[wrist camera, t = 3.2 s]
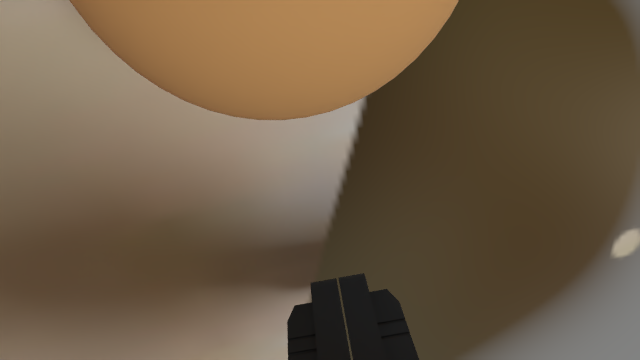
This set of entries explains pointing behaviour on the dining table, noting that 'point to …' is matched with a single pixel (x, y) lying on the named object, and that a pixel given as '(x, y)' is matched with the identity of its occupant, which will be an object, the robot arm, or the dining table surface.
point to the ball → (267, 48)
